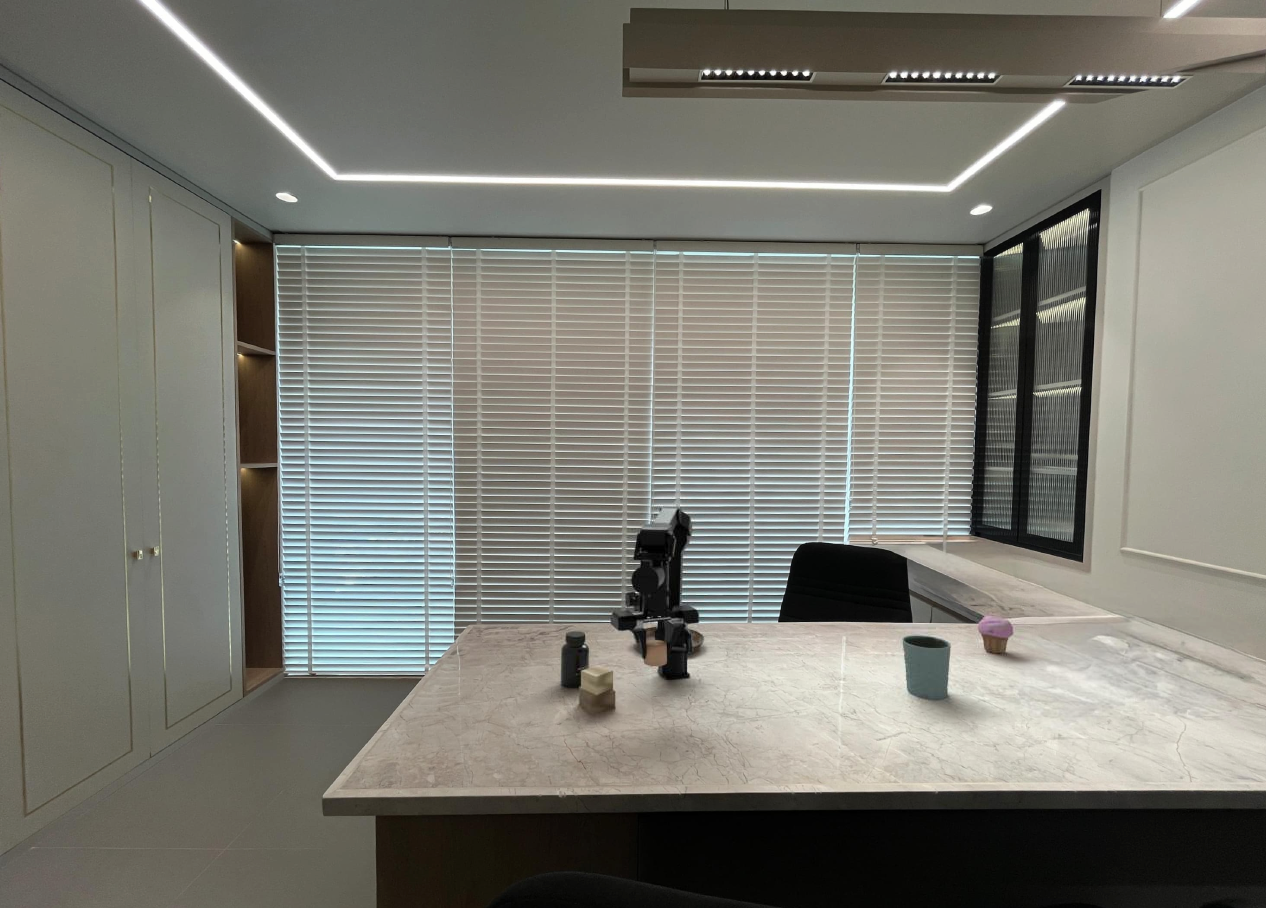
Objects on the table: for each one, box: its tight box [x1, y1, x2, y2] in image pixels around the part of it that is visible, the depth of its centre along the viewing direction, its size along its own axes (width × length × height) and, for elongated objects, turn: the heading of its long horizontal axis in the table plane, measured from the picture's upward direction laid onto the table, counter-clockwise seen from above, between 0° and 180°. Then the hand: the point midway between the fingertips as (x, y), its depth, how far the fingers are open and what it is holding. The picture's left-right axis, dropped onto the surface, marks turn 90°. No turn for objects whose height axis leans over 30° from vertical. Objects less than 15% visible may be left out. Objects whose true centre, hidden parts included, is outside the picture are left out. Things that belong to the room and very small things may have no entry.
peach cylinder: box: [643, 640, 667, 667], centre depth 127 cm, size 5×5×4 cm
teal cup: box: [901, 634, 952, 701], centre depth 139 cm, size 10×10×12 cm
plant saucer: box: [633, 626, 705, 655], centre depth 172 cm, size 21×21×3 cm
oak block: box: [581, 664, 614, 695], centre depth 130 cm, size 5×5×4 cm
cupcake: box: [977, 615, 1014, 654], centre depth 169 cm, size 9×9×10 cm
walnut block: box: [578, 687, 616, 715], centre depth 130 cm, size 6×6×4 cm
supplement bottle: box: [560, 630, 590, 689], centre depth 144 cm, size 7×7×12 cm
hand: (655, 657), depth 127 cm, fingers closed on peach cylinder, 5 cm apart
